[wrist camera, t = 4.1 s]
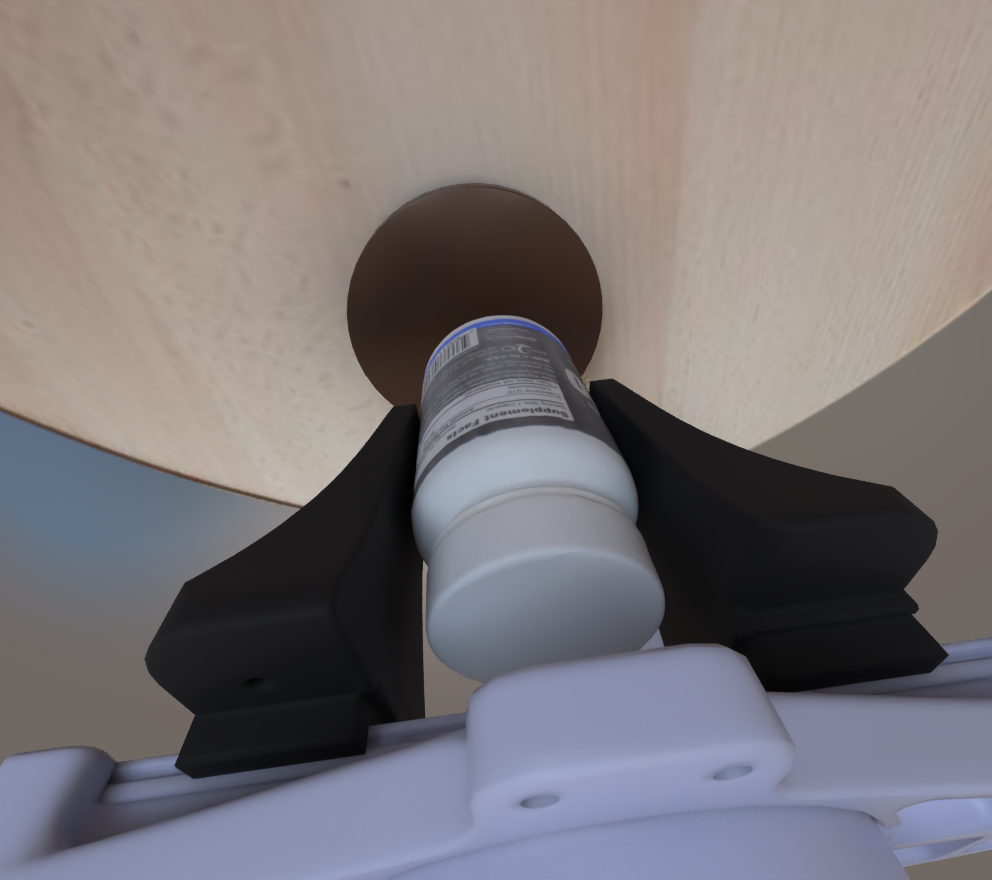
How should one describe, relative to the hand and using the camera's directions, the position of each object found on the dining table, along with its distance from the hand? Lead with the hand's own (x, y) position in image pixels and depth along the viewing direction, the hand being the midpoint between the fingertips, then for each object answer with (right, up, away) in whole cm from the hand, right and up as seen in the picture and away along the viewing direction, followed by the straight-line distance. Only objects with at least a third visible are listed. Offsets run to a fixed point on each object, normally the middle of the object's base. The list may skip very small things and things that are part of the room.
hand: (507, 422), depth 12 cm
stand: (-1, +5, +7) cm, 9 cm away
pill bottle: (0, +1, +2) cm, 2 cm away
